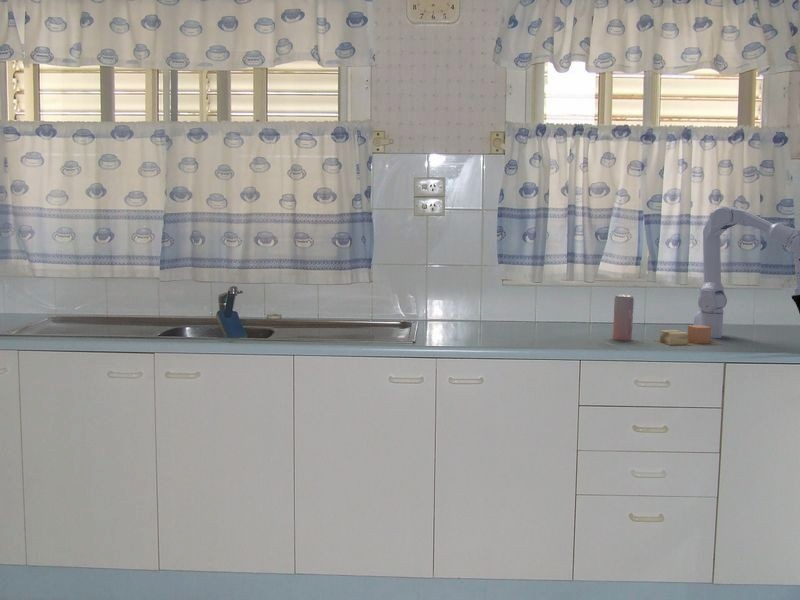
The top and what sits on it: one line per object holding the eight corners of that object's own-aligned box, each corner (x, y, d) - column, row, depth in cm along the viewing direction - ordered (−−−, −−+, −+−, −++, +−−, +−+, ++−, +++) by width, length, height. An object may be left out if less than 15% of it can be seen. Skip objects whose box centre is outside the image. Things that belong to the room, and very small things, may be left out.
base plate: (653, 342, 267) (653, 340, 267) (703, 341, 271) (703, 338, 271) (670, 348, 257) (670, 345, 257) (721, 346, 262) (721, 344, 261)
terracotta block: (687, 340, 267) (688, 325, 266) (700, 340, 268) (701, 325, 267) (696, 343, 262) (697, 327, 261) (710, 343, 263) (711, 327, 263)
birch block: (659, 341, 265) (660, 330, 265) (676, 340, 267) (677, 330, 266) (670, 344, 259) (670, 333, 259) (687, 344, 261) (687, 333, 260)
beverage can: (617, 339, 273) (619, 294, 271) (634, 341, 269) (636, 295, 267) (609, 341, 268) (611, 295, 266) (626, 343, 264) (629, 297, 263)
